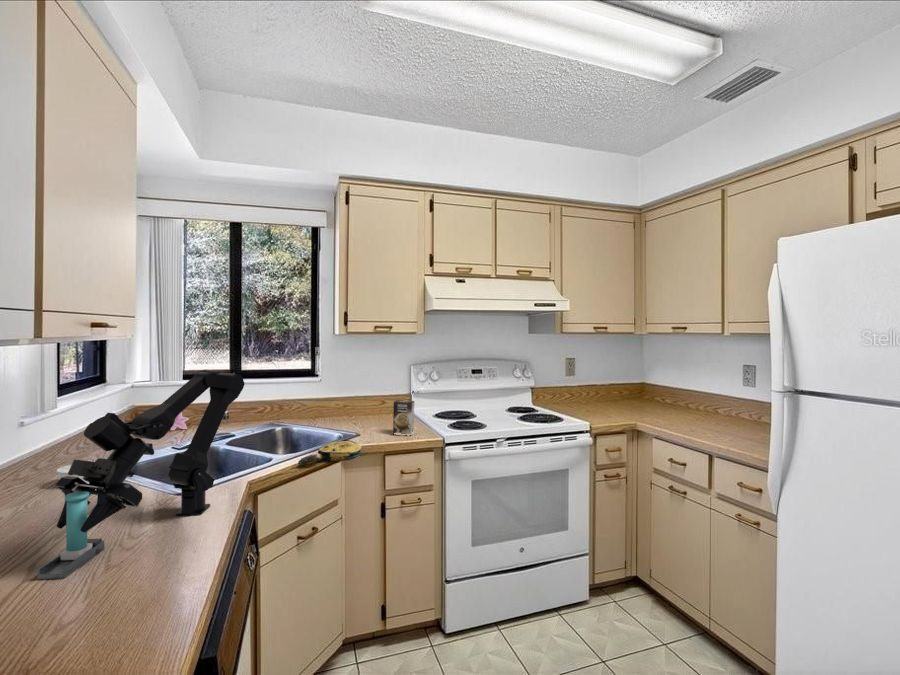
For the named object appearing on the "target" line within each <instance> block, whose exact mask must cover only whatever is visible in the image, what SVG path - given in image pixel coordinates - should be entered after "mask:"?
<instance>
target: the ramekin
mask: <svg viewBox="0 0 900 675" xmlns="http://www.w3.org/2000/svg"><path fill="white" fill-rule="evenodd" d="M71 465H72V463H70V464H67V465H63V466H61V467H58V468H57V469H56V472H55V473H56V475H57V478H58V481H59V480H60V479H61V478H62V477H66V476H71V477H79V478H80V479H82V480H83V481H85V480H84V479H83V476H78V475H68V472H69V470H70V467H71ZM85 482H86V483H89V482H88V481H85Z"/></svg>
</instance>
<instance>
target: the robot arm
mask: <svg viewBox="0 0 900 675" xmlns="http://www.w3.org/2000/svg"><path fill="white" fill-rule="evenodd" d="M244 387H245V381H244V378H243V376H242V375H241V374H239V373H228V372H219V373H217V374H214V373H212V372H201V371H199V372H196V373H195V374H194V375H193V376H192V378H190V379H189V380H188V381H187V382H186V383H184V384H183V385H182V386H181V387H179V388H178V389H177V390H176V391H175V392H174V393H173V394H171V395H170V396H169V397H168V398H167V399H165V400H164V401H163V402H162V403H160V404H158V405H157V406H154V407H150V408H149V409H146V410H144V411H143V412H141V413H140V414H138V415H136V416H135V417H133V419H132V420H130V421H127V422H124V421H123V420H122V419H121V418H120V417H119V416H118V415H117V414H116V413H114V412H107V413H106V414H105V415H104V416H102V417H99V418H97V419H96V420H94V421H92V422H90V423H89V424H88V425H87V426H86V427H85V430H84V431H83V436H84V437H85V438H86V439H88V440H89V441H90V442H92V443H93V444H94V445H95V446H97V447H98V448H100V449H101V450H103V451H104V452H110V451H112V452H111V453H110V454H109V456H108V457H107V458H101V457H98V458H97V459H96V460H95V461H90V460H89V461H88V460H82V459H73V461H72V463H71V464H72V465H71V464H70V465H71V467H70V470H69V472H68V475H78V476H83V479H84V480H85V481H88V482H89V484H88V483H86V482H85V481H83V480H82V479H80V478H79V477H71V476H66V477H62V478H61V479H60V480H59V479H58V481H57V482H56V483H55V485H54V487H55V488H56V489H58V490H60V491H61V492H62V493H63V494H64V496H65V495H67V494H70V493H73V492H79V491H88V492H89V497H91V495H93V496H94V495H95V496H97V500H96V504H95V506H94V508H93V509H92V510H91V512H90V513H89V515H87V519H86V521H85V522H84V524H83V526H82V528H81V529H80V531H82V532H87V533H88V531H90V530H92V528H94V527H95V526H97V525H98V524H100V523H101V522H103V521H104V520H107V518H109V517H111V516H113V515H114V514H116V513H117V512H119V511H121V510H125V509H126V508H127V507H133V508H137V507H138V506H139V504H140V503H141V502H142V501H143V492H141V491H140V490H138V488H136V487H135V486H133V485H132V484H131V483H128V482H125V480H127V478H133V476H135V474H136V473H135V472H134V471H133V469H135V467H136V466H137V464H138V463H139V461H140V460H141V459H142V457H143V456H144V455H146V456H153V455H155V450H154V448H153V447H154V444H153V443H152V442H151V443H149V442H147V443H146V442H145V441H144V440H143V439H145V440H150V441H151V440H154V441H157V440H160V439H162V438H164V437H165V436H167V434H168V432H170V431H171V428H172V426H173V425H174V422H175V418H176V417H177V416H178V415H179V414H180V413H181V412H182V413H183V412H184V410H185V409H187V408H188V407H189V406H190V405H192V404H193V403H194V402H195V400H197V399H198V398H199V397H201V396H202V395H203V393H205V392H206V391H207V390H208V389H209V390H208V391H209V399H210V401H209V403H207V404H208V405H207V407H206V408H205V411H204V412H203V416H202V417H201V420H200V421H199V424H198V426H197V428H196V431H195V433H194V434H193V437H192V439H191V441H190V443H189V445H188V447H187V448H186V450H185V451H184V452H182V453H179V452H177V453H176V454H175V455H174V458H173V460H172V462H171V464H170V465H169V466H168V469H169V471H168V477H169V481H171V483H172V485H173V488H175V489H179V490H180V491H181V492H180V494H181V496H180V497H181V503H180V504H181V505H180V506H181V508H180V509H179V510H178V511H176V512H175V516H197V515H198V516H200V515H202V514H203V513H204V512H205V511H206V510H208V509H209V508H210V507H211V503H206V495H207V494H206V493H207V492H206V491H208V490H209V489H212V488H213V486H214V484H215V483H214V482H215V478H213V477H212V476H211V475H210V474H208V472H207V470H208V467H209V461H208V452H209V450H210V448H211V445H212V444H213V441H214V439H215V437H216V435H217V432H218V430H219V427H220V426H221V423H222V421H223V419H224V416H225V414H226V411H227V410H228V407H229V406H230V404H232V403H233V402H234V401H235V400H236V399H238V398H239V396H240V394H241V393H242V391H243V389H244ZM133 436H134V437H133ZM90 504H91V501H89V500H88V504H87V507H88V506H89V505H90ZM66 522H67V501H65V500H64V504H63V507H62V511H61V513H60V515H59V518H58V521H57V524H56V528H58V529H60V530H61V529H63V528H64V527H65V526H66Z"/></svg>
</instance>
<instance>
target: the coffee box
mask: <svg viewBox="0 0 900 675" xmlns="http://www.w3.org/2000/svg"><path fill="white" fill-rule="evenodd" d="M414 419H415V401H414V400H399V399H398V400H394V401H393V418H392V420H393V422H392V434H393V433H401V434H411V433H412V432H413V431H415V430H414V429H415V428H414V426H415V425H414V424H415V423H414V422H415V421H414Z"/></svg>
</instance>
